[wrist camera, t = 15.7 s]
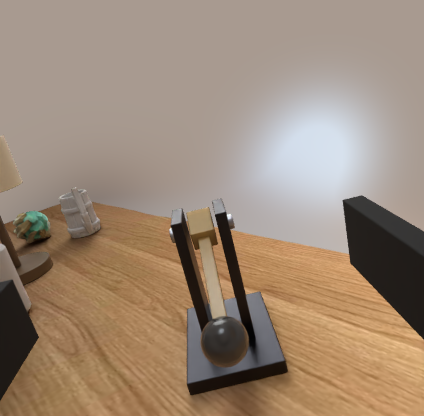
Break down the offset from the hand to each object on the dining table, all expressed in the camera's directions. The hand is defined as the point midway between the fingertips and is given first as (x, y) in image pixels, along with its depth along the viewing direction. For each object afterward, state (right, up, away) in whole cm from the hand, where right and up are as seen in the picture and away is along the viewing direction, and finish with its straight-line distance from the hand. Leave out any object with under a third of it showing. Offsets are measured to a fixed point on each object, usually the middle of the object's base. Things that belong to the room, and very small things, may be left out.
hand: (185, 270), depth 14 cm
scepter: (-49, -5, +85) cm, 98 cm away
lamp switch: (+1, -5, +18) cm, 18 cm away
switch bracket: (+3, -11, +24) cm, 27 cm away
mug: (-28, -4, +73) cm, 78 cm away
